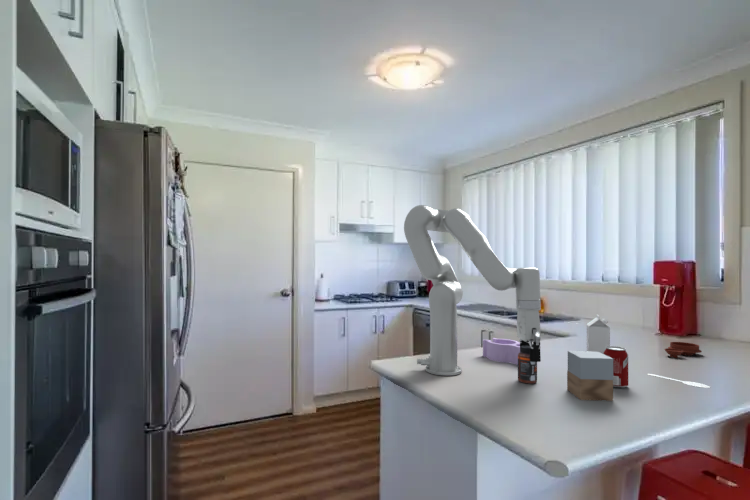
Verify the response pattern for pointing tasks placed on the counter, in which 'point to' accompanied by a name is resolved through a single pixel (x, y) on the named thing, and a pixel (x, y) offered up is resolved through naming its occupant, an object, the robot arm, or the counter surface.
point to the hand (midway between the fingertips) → (530, 358)
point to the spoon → (684, 382)
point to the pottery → (682, 349)
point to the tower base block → (590, 388)
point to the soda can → (618, 365)
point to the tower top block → (590, 365)
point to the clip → (501, 350)
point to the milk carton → (598, 335)
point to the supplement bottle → (526, 367)
